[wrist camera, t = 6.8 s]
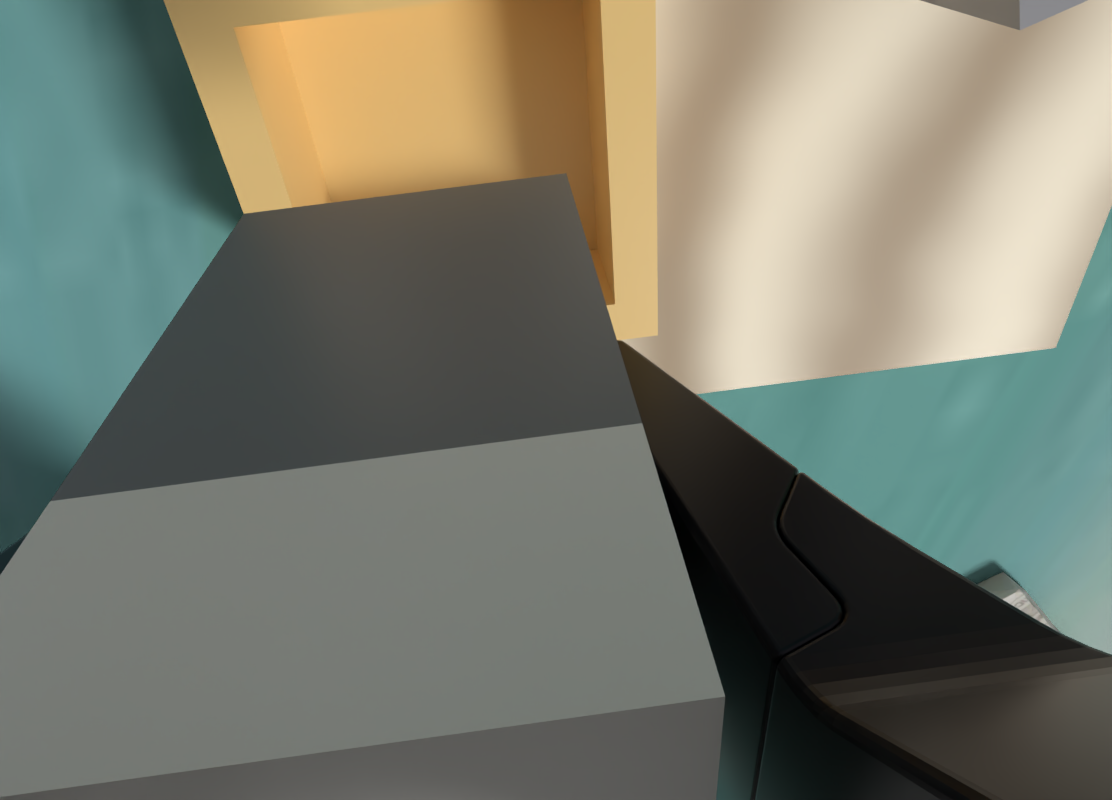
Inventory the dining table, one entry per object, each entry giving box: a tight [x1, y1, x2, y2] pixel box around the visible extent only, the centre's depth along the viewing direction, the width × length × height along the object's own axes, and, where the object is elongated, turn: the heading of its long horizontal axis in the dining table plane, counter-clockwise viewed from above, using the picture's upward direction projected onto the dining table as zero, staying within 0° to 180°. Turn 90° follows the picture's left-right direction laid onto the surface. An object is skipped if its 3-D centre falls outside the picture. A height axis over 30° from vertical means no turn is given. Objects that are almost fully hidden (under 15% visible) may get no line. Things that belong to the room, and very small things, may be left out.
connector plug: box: [0, 173, 725, 800], centre depth 7 cm, size 4×4×7 cm
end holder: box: [164, 0, 658, 340], centre depth 16 cm, size 8×8×4 cm
